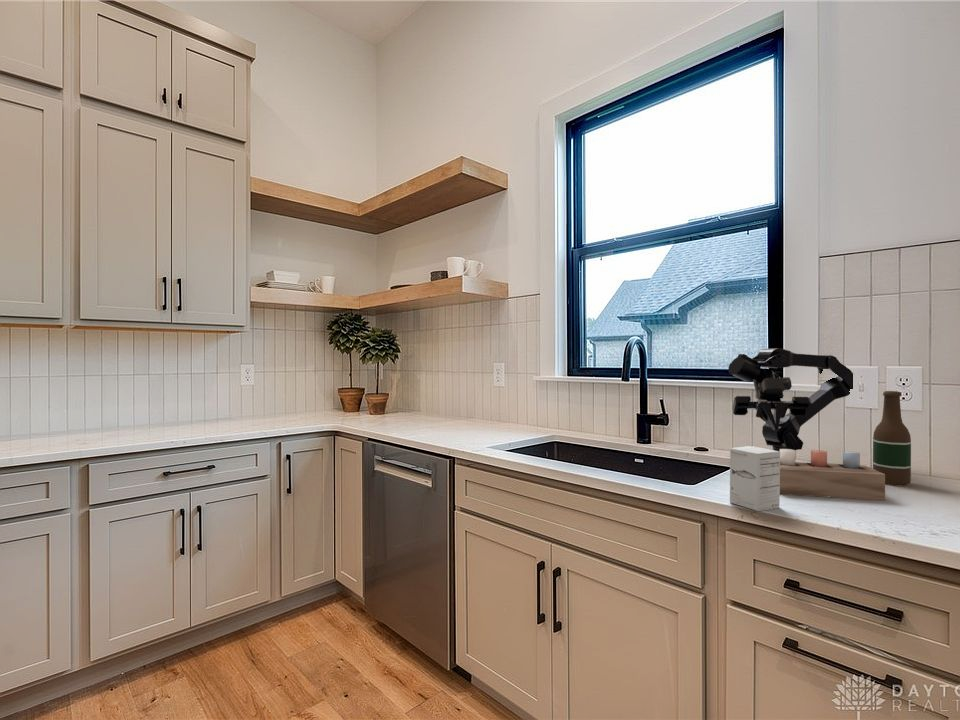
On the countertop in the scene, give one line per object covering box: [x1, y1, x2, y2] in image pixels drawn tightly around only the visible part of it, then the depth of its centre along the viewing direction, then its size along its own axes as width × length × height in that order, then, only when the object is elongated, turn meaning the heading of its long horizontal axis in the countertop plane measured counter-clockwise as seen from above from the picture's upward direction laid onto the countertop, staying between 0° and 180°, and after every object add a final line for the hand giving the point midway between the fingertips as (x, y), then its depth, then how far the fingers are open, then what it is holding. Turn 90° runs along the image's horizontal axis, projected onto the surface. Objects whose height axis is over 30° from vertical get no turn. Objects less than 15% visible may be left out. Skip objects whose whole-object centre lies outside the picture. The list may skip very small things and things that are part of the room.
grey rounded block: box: [842, 451, 861, 469], centre depth 126 cm, size 3×3×4 cm
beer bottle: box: [872, 390, 912, 487], centre depth 135 cm, size 8×8×24 cm
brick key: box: [810, 449, 828, 467], centre depth 128 cm, size 3×3×4 cm
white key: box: [780, 449, 796, 466], centre depth 130 cm, size 3×3×4 cm
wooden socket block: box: [780, 461, 886, 501], centre depth 126 cm, size 10×22×6 cm, turn 75°
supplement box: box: [729, 445, 781, 512], centre depth 115 cm, size 7×7×13 cm
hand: (776, 430), depth 138 cm, fingers closed
